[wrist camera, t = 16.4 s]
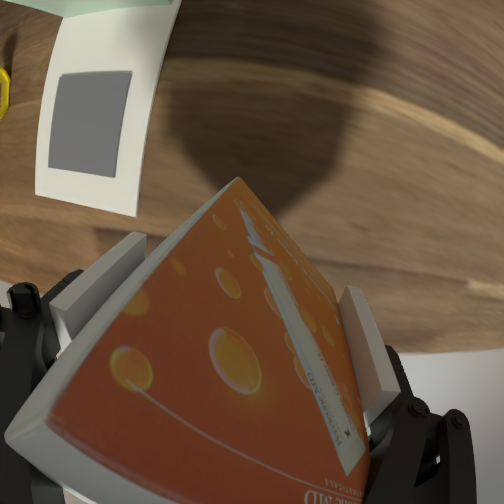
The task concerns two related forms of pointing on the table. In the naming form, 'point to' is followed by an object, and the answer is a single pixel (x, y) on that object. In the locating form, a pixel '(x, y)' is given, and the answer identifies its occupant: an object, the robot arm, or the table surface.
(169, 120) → the table surface
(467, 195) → the table surface
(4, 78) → the watch
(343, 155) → the table surface
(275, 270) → the small box
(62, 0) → the block
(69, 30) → the base
